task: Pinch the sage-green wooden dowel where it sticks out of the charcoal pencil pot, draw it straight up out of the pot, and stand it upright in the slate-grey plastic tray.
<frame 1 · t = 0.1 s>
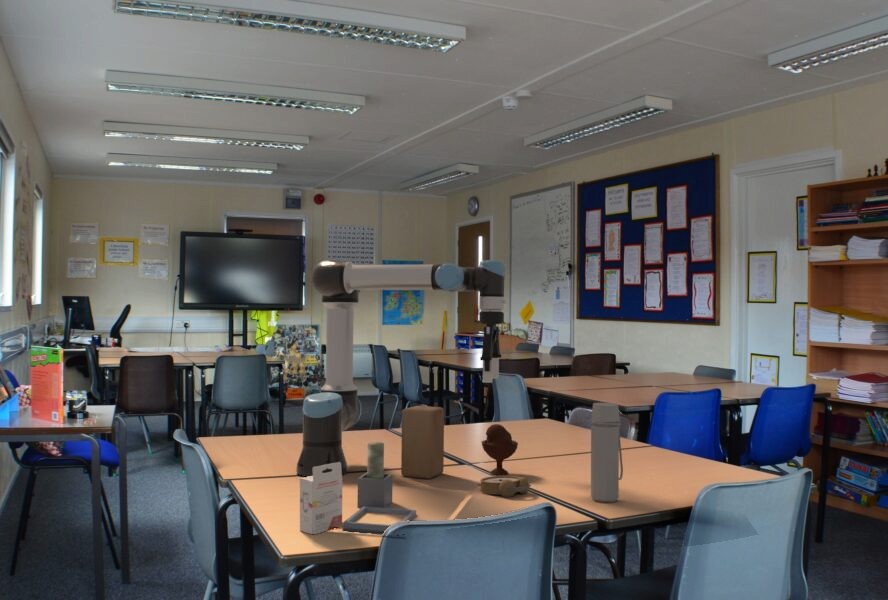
hand: (491, 380, 224), 28 cm above the table, fingers open, 13 cm apart
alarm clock: (505, 494, 199), on the table
ice cream bowl: (499, 474, 223), on the table
pencil pot: (375, 508, 181), on the table
ink cartridge box: (320, 530, 164), on the table
dowel: (375, 504, 181), point 1 cm above the table, touching pencil pot
water bottle: (607, 500, 192), on the table
wooden block: (422, 475, 220), on the table
tray: (380, 524, 167), on the table
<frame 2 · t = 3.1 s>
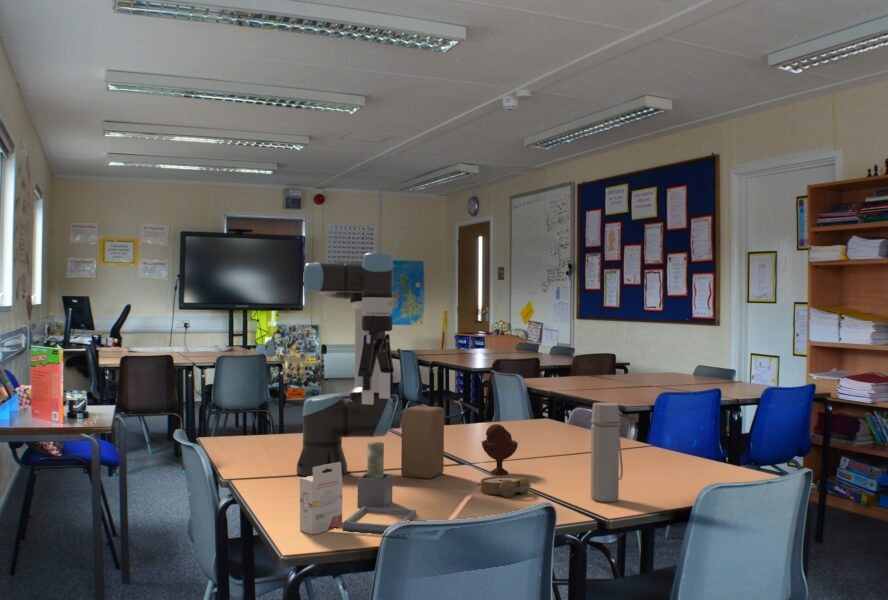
hand: (376, 401, 181), 26 cm above the table, fingers open, 13 cm apart
nothing on the table moved.
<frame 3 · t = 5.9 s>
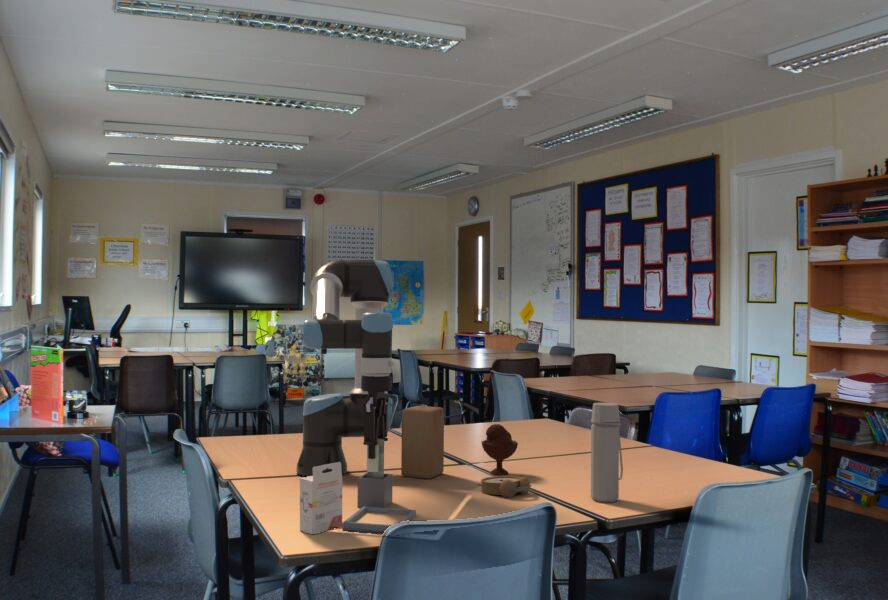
hand: (375, 469, 181), 10 cm above the table, fingers closed on dowel, 4 cm apart
dowel: (375, 500, 181), point 2 cm above the table, touching gripper
everything else where it was.
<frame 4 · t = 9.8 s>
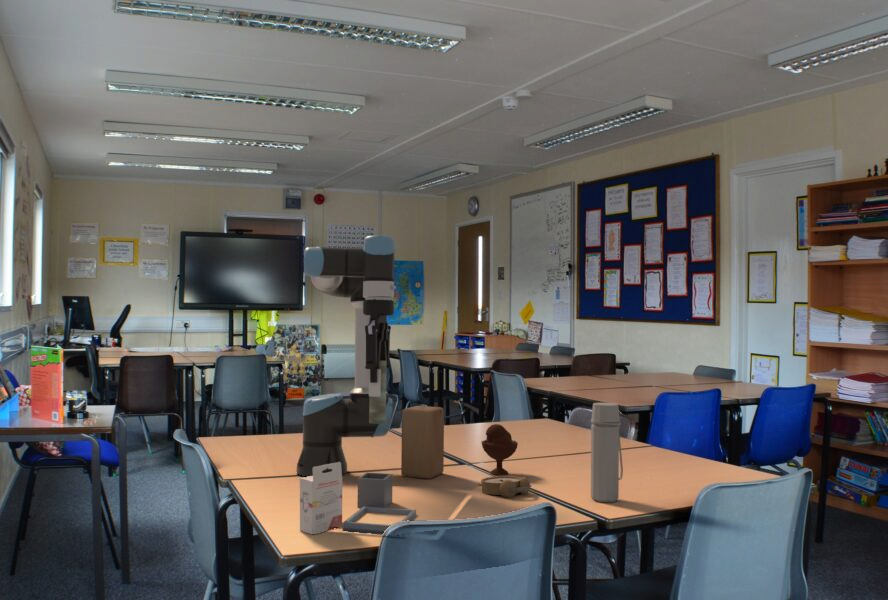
hand: (377, 395, 178), 28 cm above the table, fingers closed on dowel, 4 cm apart
dowel: (377, 422, 178), point 22 cm above the table, touching gripper
everything else where it was.
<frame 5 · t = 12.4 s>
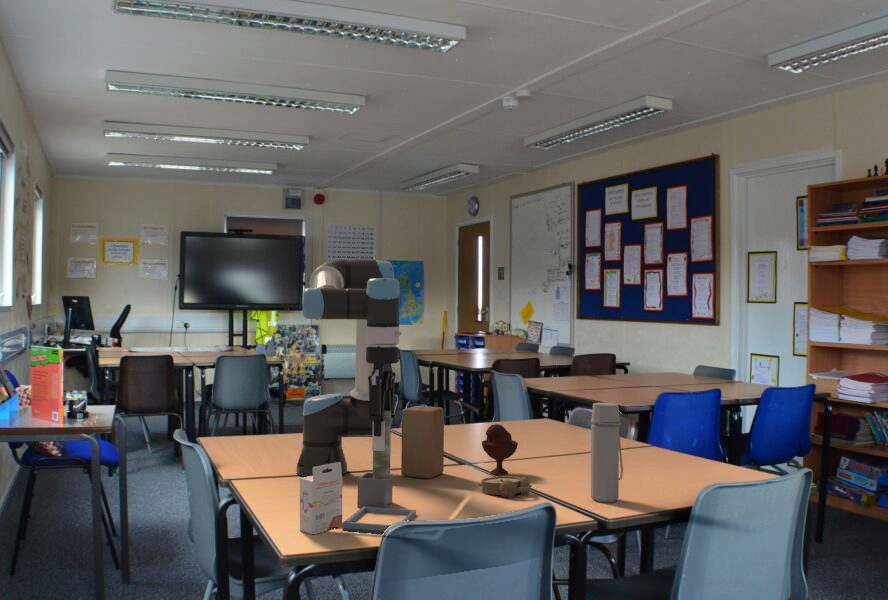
hand: (381, 448, 167), 17 cm above the table, fingers closed on dowel, 4 cm apart
dowel: (381, 477, 167), point 11 cm above the table, touching gripper
everything else where it was.
when the fingers open (10 cm above the table, at t = 14.4 s): dowel drops 3 cm, resting on tray.
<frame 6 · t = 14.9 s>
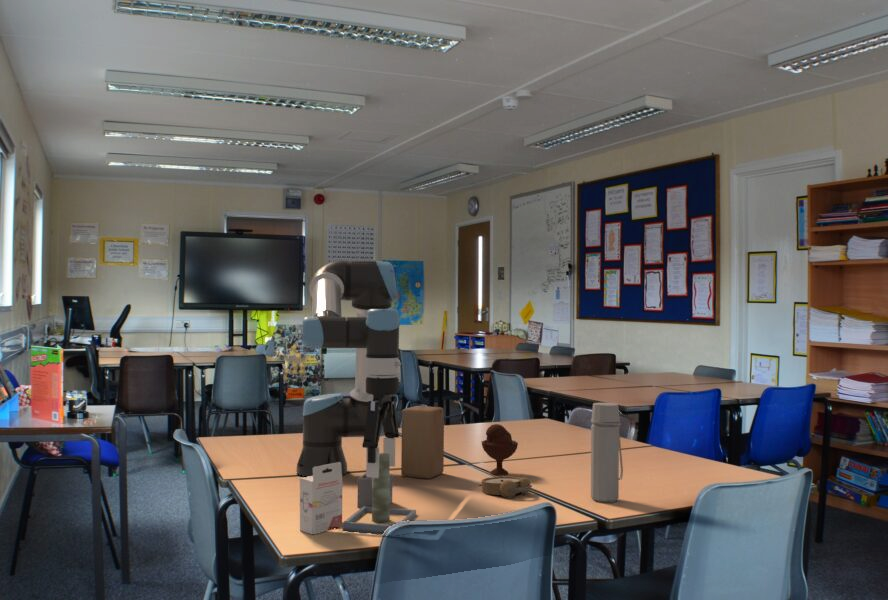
hand: (381, 471, 167), 12 cm above the table, fingers open, 12 cm apart
dowel: (380, 521, 167), point 1 cm above the table, touching tray
everything else where it was.
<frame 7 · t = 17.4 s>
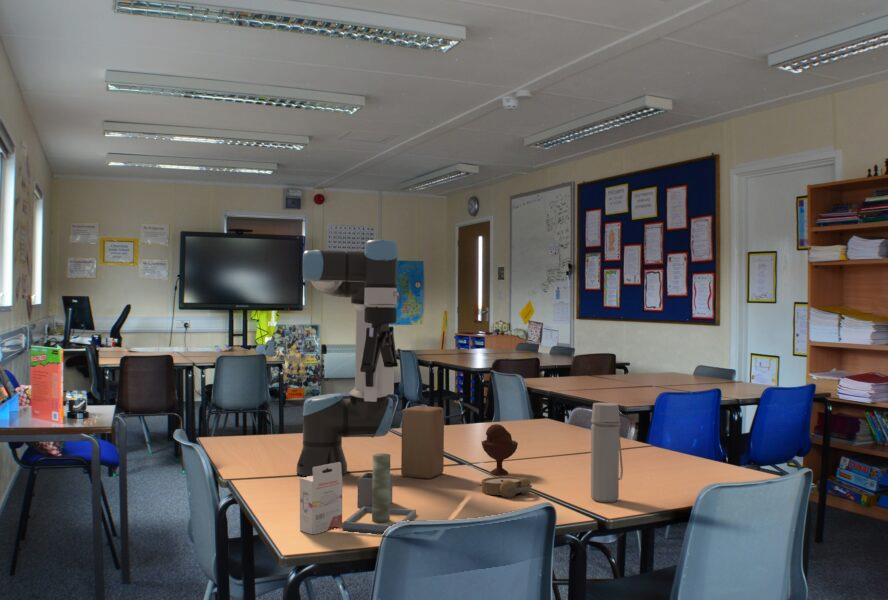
hand: (379, 397, 171), 28 cm above the table, fingers open, 13 cm apart
nothing on the table moved.
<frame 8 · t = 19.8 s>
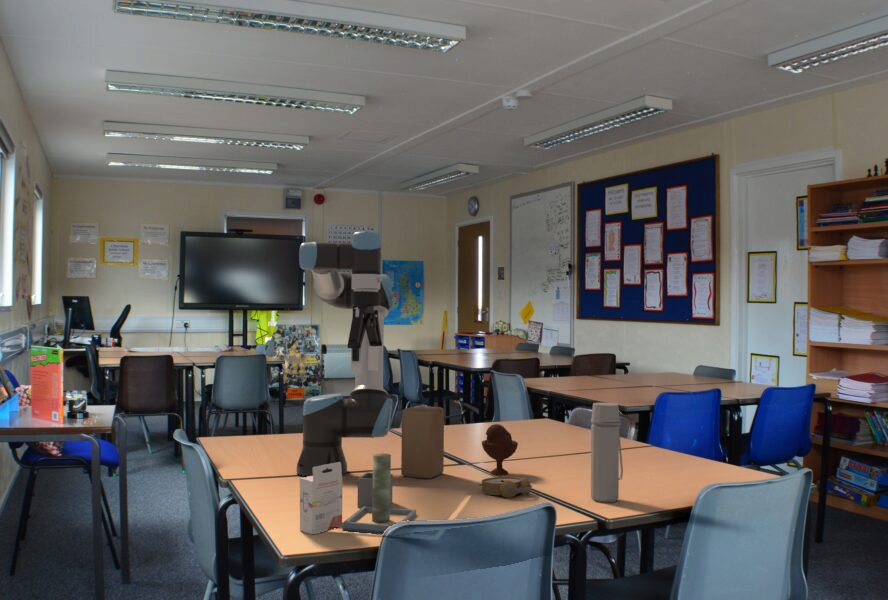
hand: (365, 372, 192), 33 cm above the table, fingers open, 13 cm apart
nothing on the table moved.
at the end: dowel inside the target area on the tray (0.1 cm from its centre), point 0.8 cm above the tray's base; dowel tilted 0°; the gripper is holding nothing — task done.
